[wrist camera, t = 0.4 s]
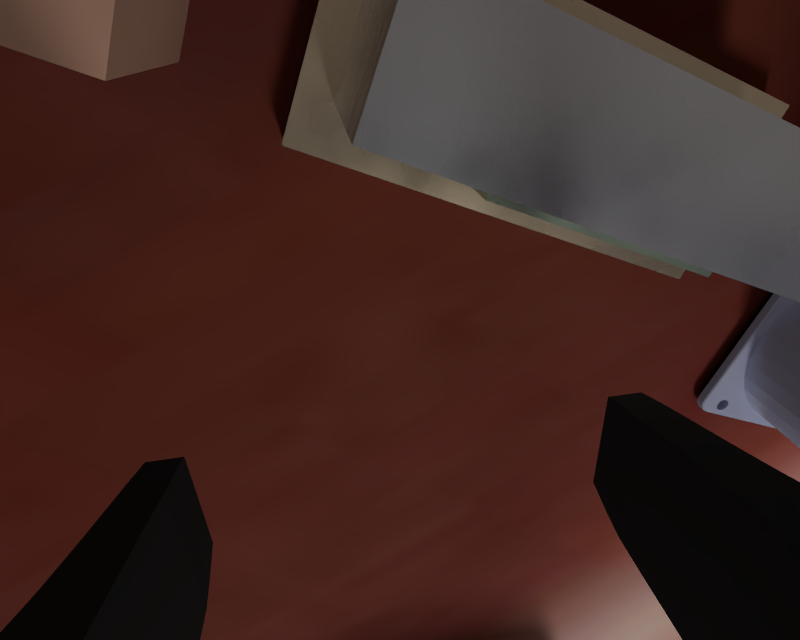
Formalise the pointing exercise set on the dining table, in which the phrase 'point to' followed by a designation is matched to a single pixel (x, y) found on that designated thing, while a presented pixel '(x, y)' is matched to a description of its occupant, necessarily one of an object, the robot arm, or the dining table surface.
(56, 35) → the terracotta block
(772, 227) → the grey unit
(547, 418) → the dining table surface
